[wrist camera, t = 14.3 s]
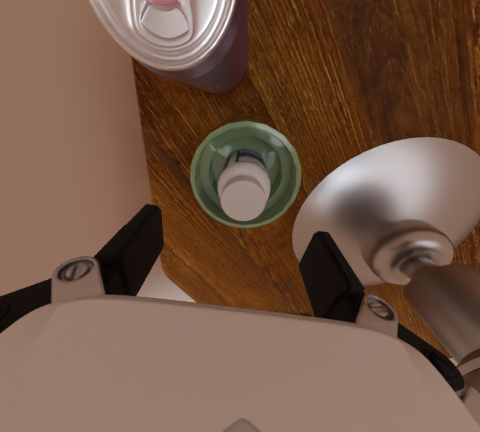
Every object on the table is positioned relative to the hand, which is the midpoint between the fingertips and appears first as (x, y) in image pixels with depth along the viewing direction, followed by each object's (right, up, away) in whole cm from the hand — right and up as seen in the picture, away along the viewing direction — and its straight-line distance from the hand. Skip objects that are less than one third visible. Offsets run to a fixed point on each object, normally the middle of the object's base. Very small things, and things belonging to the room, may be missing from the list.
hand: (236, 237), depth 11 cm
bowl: (+1, +8, +13) cm, 16 cm away
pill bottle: (+1, +8, +13) cm, 15 cm away
